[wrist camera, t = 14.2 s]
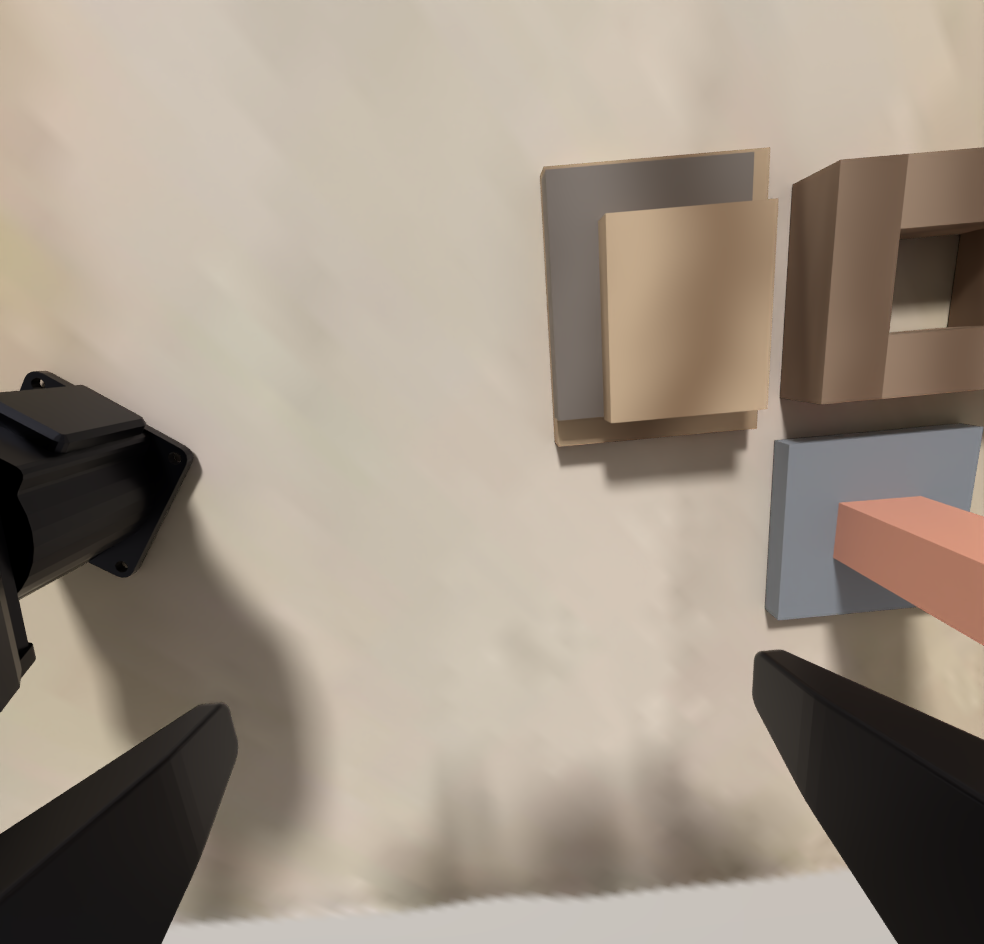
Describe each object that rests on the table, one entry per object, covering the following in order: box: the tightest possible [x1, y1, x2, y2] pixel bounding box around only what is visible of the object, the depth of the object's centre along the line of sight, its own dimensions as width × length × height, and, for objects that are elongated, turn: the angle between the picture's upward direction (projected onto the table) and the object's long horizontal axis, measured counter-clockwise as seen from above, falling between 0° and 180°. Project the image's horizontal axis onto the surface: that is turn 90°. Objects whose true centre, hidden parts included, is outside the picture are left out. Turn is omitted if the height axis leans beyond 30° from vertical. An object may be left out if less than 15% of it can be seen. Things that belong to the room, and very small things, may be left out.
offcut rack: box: [540, 147, 984, 447], centre depth 18 cm, size 19×10×3 cm, turn 95°
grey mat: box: [765, 423, 983, 620], centre depth 21 cm, size 8×8×1 cm
